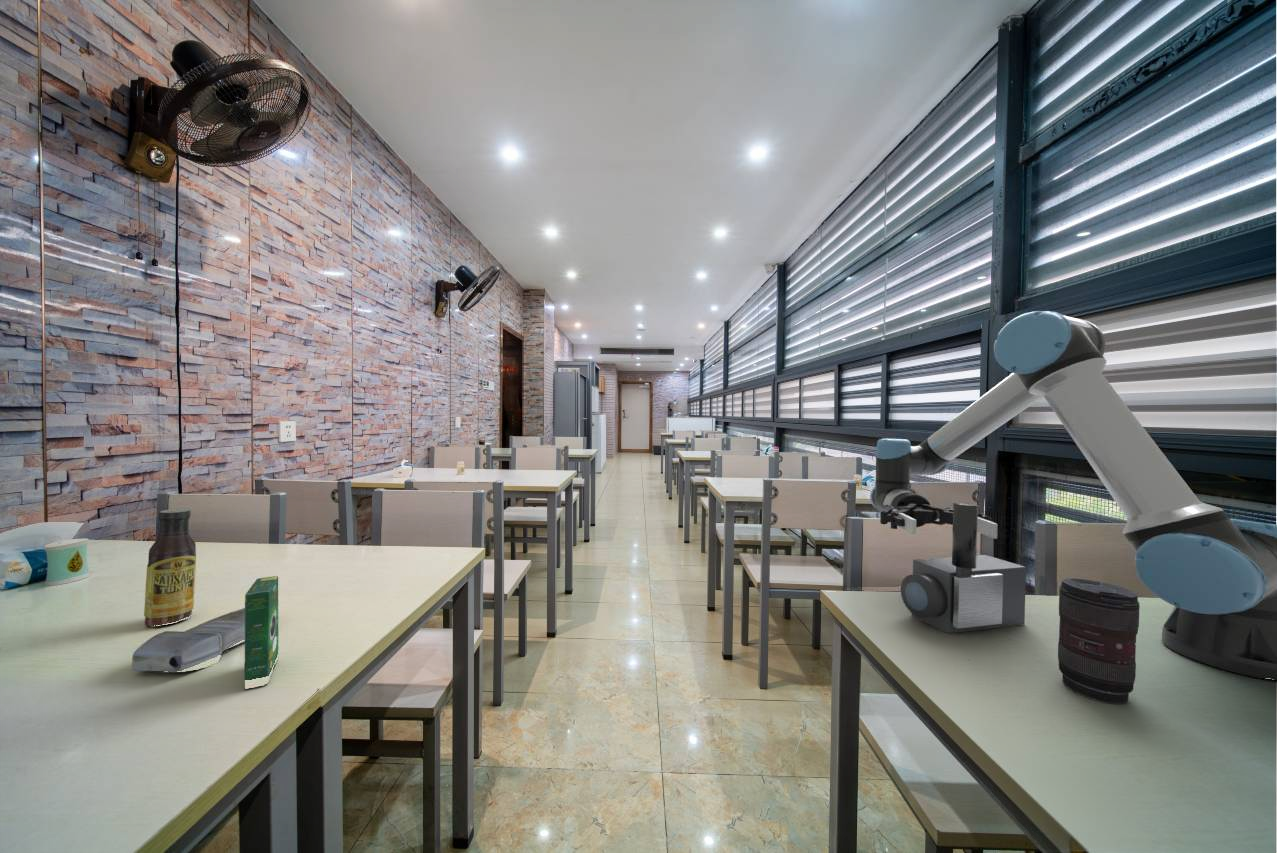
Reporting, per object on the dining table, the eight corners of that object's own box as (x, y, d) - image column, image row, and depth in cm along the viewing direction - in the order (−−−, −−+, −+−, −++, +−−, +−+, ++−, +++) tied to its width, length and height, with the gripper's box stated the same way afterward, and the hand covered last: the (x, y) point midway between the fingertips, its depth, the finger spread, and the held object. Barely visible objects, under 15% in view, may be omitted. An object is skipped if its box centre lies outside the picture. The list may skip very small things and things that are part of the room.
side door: (989, 618, 86) (992, 501, 86) (1009, 626, 83) (1012, 505, 82) (945, 623, 84) (948, 502, 84) (963, 632, 80) (966, 506, 80)
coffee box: (255, 663, 69) (255, 576, 69) (279, 659, 70) (280, 573, 70) (242, 691, 62) (242, 594, 62) (269, 685, 63) (269, 591, 63)
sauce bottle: (149, 632, 78) (150, 515, 78) (139, 623, 81) (139, 511, 81) (201, 618, 84) (201, 509, 83) (189, 610, 87) (190, 505, 87)
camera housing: (983, 607, 95) (985, 554, 95) (1025, 624, 87) (1027, 567, 87) (898, 616, 90) (899, 560, 90) (934, 635, 82) (936, 574, 82)
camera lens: (1154, 711, 61) (1157, 599, 61) (1082, 703, 63) (1086, 594, 62) (1105, 678, 69) (1108, 579, 69) (1043, 671, 70) (1046, 574, 70)
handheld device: (299, 620, 84) (299, 595, 84) (187, 683, 64) (187, 650, 64) (248, 618, 85) (248, 593, 85) (122, 680, 65) (122, 647, 64)
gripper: (966, 527, 104) (1029, 553, 83) (849, 521, 108) (881, 544, 87) (967, 494, 104) (1030, 512, 83) (850, 489, 108) (882, 505, 87)
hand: (954, 529), depth 85 cm, fingers open, 13 cm apart
